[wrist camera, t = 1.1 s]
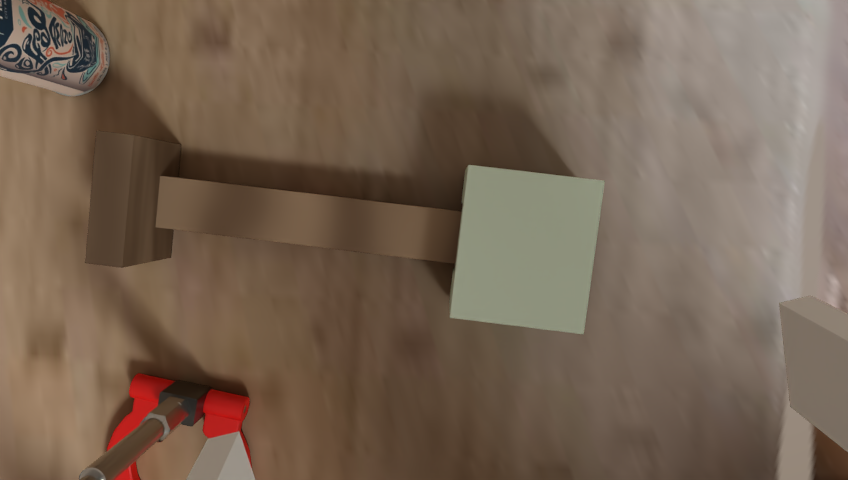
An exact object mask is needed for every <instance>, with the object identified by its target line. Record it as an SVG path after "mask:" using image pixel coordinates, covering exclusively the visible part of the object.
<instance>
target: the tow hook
mask: <svg viewBox="0 0 848 480" xmlns="http://www.w3.org/2000/svg"><path fill="white" fill-rule="evenodd" d="M129 395H130V397H133V398H134V403H133V410H132V412H131V413H129V414H128V415H127V416H125V417H124V419H123V420H122V421H121V422H120V424H119V425H118V426H117V428H116V429H115V430H114V432H113V434H112V437H111V439H110V442H109V444H108V447H107V452H106V453H104V454H103V455H102V456H101V457H99V458H98V459H97V460H96V461H94V462H93V463H92V464H91V465H89V466H88V467H87V468H86V469H84V470H83V471H82V472H81V474H80V476H79V480H140V478H139V476H138V474H137V467H136V460H137V459H138V458H139V457H140V456H141V455H142V454H144V453H145V452H146V451H147V450H148V449H149V448H150V447H151V446H152V445H154V444H155V443H156V442H162V441H163V440H164V439H165V438H166V437H167V436H169V435H170V434H171V433H172V432H173V431H174V430H175V429H176V428H177V427H178V426H179V425H180V424H182V425H187V426H193V425H194V424H195V423H196V422H197V421H198V420H199V419H200V418H201V417H202V416H203V415H204V414H205V419H204V425H203V432H204V434H205V436H207V437H208V438H213V437H217V436H221V435H225V434H230V433H234V432H238V431H239V432H240V435H241V438H242V441H243V444H244V447H245V450H246V453H247V456H248V459H249V462H250V465H251V458H250V450H249V447H248V445H247V443H246V440H245V438H244V436H243V433H242V431H241V426H242V421H243V420H244V419H245V417H246V415H247V412H248V408H249V402H250V399H249V397H245V396H241V395H236V394H232V393H227V392H222V391H218V390H213V389H212V388H211V387H208V386H203V385H199V384H194V383H190V382H185V381H181V380H176V381H172V380H168V379H163V378H159V377H154V376H149V375H145V374H140V373H138V374H137V375H136V376H135V377H134V378H133V380H132V382H131V385H130V390H129ZM251 468H252V465H251Z"/></svg>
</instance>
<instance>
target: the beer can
mask: <svg viewBox="0 0 848 480" xmlns="http://www.w3.org/2000/svg"><path fill="white" fill-rule="evenodd" d="M109 63H110V53H109V47H108V44H107V41H106V39H105V37H104V35H103V34H102V32H101V31H100V30H99V29H98V28H97V27H96V26H95V25H94V24H93V23H91V22H90V21H88V20H85V19H83V18H81V17H79V16H77V15H75V14H73V13H71V12H69V11H67V10H65V9H63V8H61V7H59V6H57V5H55V4H53V3H51V2H49V1H47V0H0V76H2V77H5V78H9V79H13V80H16V81H20V82H24V83H27V84H31V85H34V86H38V87H42V88H45V89H49V90H52V91H54V92H56V93H58V94H61V95H65V96H80V95H83V94H86V93H88V92H90V91H92V90H94V89H95V88H96V87H97V86H98V85H99V84H100V83H101V82H102V80H103V79H104V77H105V76H106V74H107V71H108V67H109Z"/></svg>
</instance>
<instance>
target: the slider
mask: <svg viewBox="0 0 848 480" xmlns="http://www.w3.org/2000/svg"><path fill="white" fill-rule="evenodd" d="M604 183H605V181H603V180H594V179H586V178H577V177H569V176H560V175H552V174H543V173H535V172H526V171H518V170H509V169H501V168H492V167H484V166H475V165H468V166H467V168H466V169H465V176H464V184H463V192H462V201H461V203H463V206H462V214H461V222H460V230H459V238H458V246H457V254H456V263H455V268H453V274H452V282H451V290H450V298H449V310H450V318H456V319H464V320H472V321H480V322H488V323H496V324H504V325H512V326H520V327H528V328H536V329H545V330H553V331H561V332H569V333H577V334H584V328H585V321H586V314H587V307H588V299H589V292H590V285H591V277H592V270H593V263H594V256H595V248H596V241H597V234H598V226H599V219H600V212H601V205H602V197H603V190H604Z"/></svg>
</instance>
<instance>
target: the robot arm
mask: <svg viewBox="0 0 848 480" xmlns="http://www.w3.org/2000/svg"><path fill="white" fill-rule="evenodd" d="M779 307H780V316H781V326H782V335H783V344H784V353H785V363H786V372H787V381H788V390H789V400H790V407H791V408H793V409H794V410H795V411H797V412H798V413H799V414H800V415H802V416H803V417H804V418H806V419H807V420H808V421H809V422H810V423H812V424H813V425H814V426H815V427H817V428H818V429H819V430H820V431H822V432H823V433H824V434H825V435H827V436H828V437H829V438H830V439H832V440H833V441H834V442H835V443H837V444H838V445H839V446H840V447H842V448H843V449H844V450H845V451H847V452H848V314H847V313H845V312H843V311H841V310H839V309H837V308H835V307H833V306H831V305H829V304H827V303H825V302H823V301H821V300H819V299H817V298H815V297H813V296H806V297H802V298H798V299H794V300H790V301H785V302H781V303H779ZM186 480H255V477H254V474H253V471H252V468H251V465H250V462H249V459H248V456H247V453H246V450H245V447H244V444H243V441H242V438H241V435H240V432H239V431H238V432H234V433H230V434H225V435H221V436H217V437H213V438H209V439H207V441H206V443H205V445H204V447H203V449H202V451H201V453H200V454H199V456H198V458H197V460H196V462H195V464H194V466H193V468H192V469H191V471H190V473H189V475H188V477H187V479H186Z"/></svg>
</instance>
